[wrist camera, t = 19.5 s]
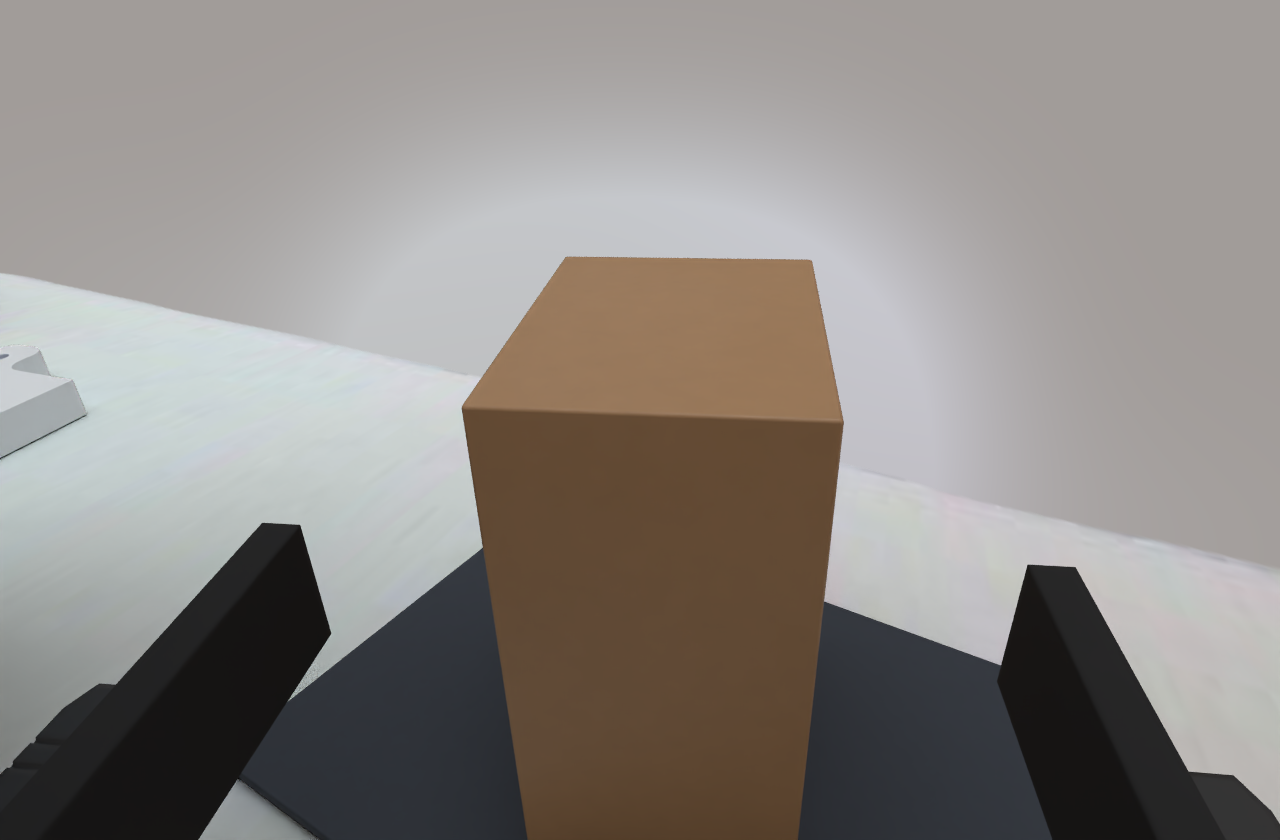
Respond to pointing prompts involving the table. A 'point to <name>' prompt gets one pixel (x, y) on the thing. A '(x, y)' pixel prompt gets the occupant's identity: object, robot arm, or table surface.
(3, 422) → the mounting plate
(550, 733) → the carton
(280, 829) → the table surface
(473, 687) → the desk mat
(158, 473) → the table surface
